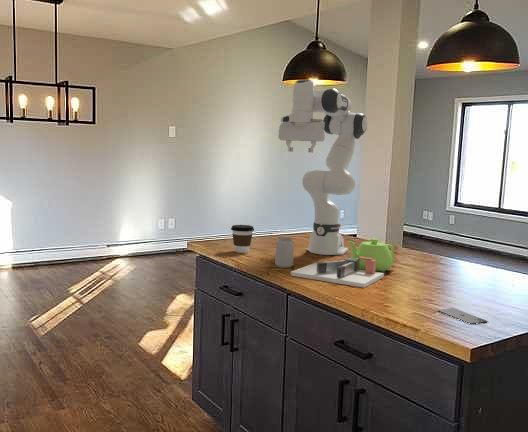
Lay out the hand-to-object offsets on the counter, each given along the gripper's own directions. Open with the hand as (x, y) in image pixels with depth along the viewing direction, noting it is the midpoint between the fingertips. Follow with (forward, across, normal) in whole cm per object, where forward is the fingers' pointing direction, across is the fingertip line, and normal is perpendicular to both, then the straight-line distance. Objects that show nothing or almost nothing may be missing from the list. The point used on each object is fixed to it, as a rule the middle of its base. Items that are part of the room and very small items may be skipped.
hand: (300, 152), depth 238 cm
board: (+48, -25, +12) cm, 55 cm away
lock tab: (+46, -34, +4) cm, 57 cm away
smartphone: (+48, -77, +38) cm, 98 cm away
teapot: (+48, -31, -8) cm, 57 cm away
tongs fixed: (+46, -28, +12) cm, 55 cm away
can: (+48, 0, +10) cm, 49 cm away
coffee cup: (+48, +31, -6) cm, 57 cm away
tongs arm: (+46, -23, +13) cm, 53 cm away
